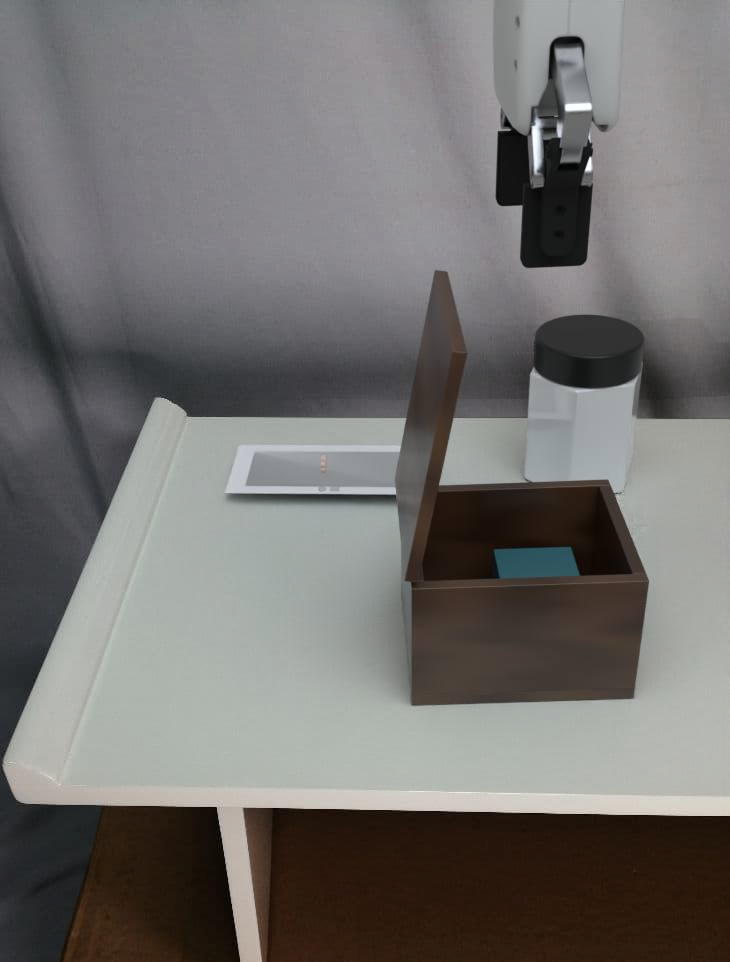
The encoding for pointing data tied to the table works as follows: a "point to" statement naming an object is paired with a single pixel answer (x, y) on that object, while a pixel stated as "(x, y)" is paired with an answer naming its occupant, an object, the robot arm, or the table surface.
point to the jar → (583, 400)
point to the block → (534, 563)
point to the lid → (429, 422)
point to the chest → (525, 598)
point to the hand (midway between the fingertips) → (537, 232)
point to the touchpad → (314, 469)
